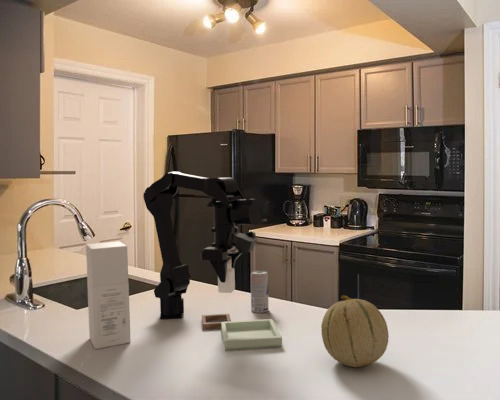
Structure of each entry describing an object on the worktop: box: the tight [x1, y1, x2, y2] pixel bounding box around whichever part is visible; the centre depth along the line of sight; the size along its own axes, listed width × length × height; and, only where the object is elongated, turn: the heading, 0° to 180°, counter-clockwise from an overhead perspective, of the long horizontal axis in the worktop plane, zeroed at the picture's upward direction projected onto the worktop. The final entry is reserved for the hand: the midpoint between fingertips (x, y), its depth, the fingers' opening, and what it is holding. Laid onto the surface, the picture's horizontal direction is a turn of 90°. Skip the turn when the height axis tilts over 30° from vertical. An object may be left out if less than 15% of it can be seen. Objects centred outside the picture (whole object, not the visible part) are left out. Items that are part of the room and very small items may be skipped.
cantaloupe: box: [320, 294, 390, 368], centre depth 102 cm, size 15×15×15 cm
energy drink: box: [250, 270, 269, 314], centre depth 141 cm, size 5×5×12 cm
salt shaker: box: [217, 256, 236, 294], centre depth 125 cm, size 4×4×10 cm
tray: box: [220, 318, 283, 352], centre depth 118 cm, size 14×14×2 cm
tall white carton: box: [85, 241, 131, 350], centre depth 118 cm, size 9×9×25 cm
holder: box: [201, 313, 232, 331], centre depth 130 cm, size 8×8×2 cm
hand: (226, 280), depth 125 cm, fingers closed on salt shaker, 4 cm apart
